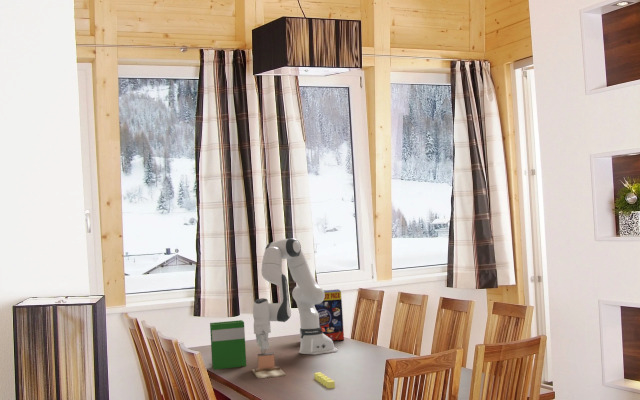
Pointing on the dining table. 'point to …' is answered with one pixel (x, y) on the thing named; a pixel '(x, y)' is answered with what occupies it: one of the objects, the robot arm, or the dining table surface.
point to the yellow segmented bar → (324, 380)
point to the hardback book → (228, 344)
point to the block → (266, 361)
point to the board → (268, 372)
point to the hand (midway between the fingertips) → (263, 355)
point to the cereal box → (331, 315)
